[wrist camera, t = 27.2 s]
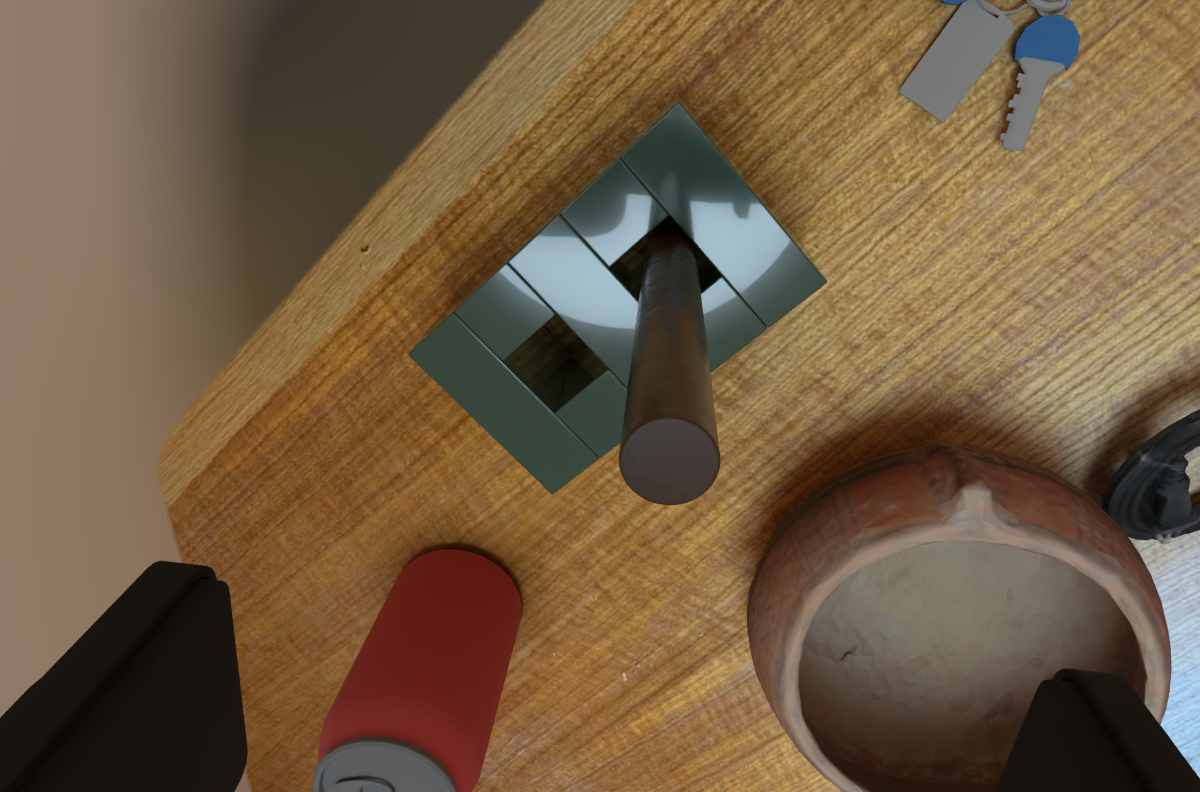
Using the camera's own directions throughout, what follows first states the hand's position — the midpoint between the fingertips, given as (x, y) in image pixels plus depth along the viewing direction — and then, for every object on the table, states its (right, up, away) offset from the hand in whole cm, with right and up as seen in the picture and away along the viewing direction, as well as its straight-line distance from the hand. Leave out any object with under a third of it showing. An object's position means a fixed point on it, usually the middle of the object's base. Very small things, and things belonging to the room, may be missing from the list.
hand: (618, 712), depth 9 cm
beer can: (-7, -6, +32) cm, 33 cm away
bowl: (+14, -4, +29) cm, 32 cm away
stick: (+3, +11, +23) cm, 26 cm away
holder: (+1, +9, +24) cm, 26 cm away
